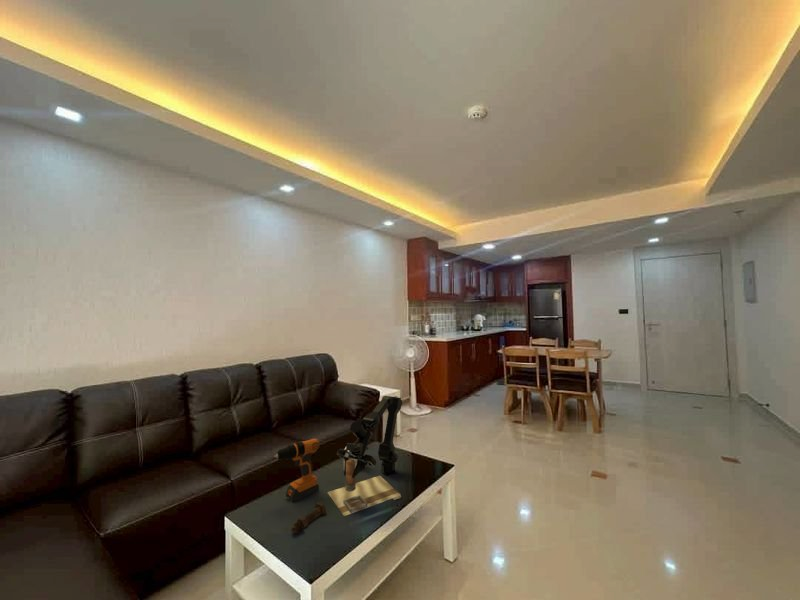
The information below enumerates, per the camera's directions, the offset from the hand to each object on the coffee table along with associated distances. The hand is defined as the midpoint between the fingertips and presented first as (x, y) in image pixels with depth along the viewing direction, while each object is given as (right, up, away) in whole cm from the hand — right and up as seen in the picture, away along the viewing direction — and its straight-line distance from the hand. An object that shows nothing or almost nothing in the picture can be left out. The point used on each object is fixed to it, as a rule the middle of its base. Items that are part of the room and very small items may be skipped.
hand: (348, 476), depth 144 cm
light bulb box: (-3, -15, +35) cm, 38 cm away
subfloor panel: (+6, -14, +8) cm, 17 cm away
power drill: (-25, -14, +8) cm, 30 cm away
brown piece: (+1, -6, +1) cm, 6 cm away
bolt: (-15, -14, -11) cm, 23 cm away
